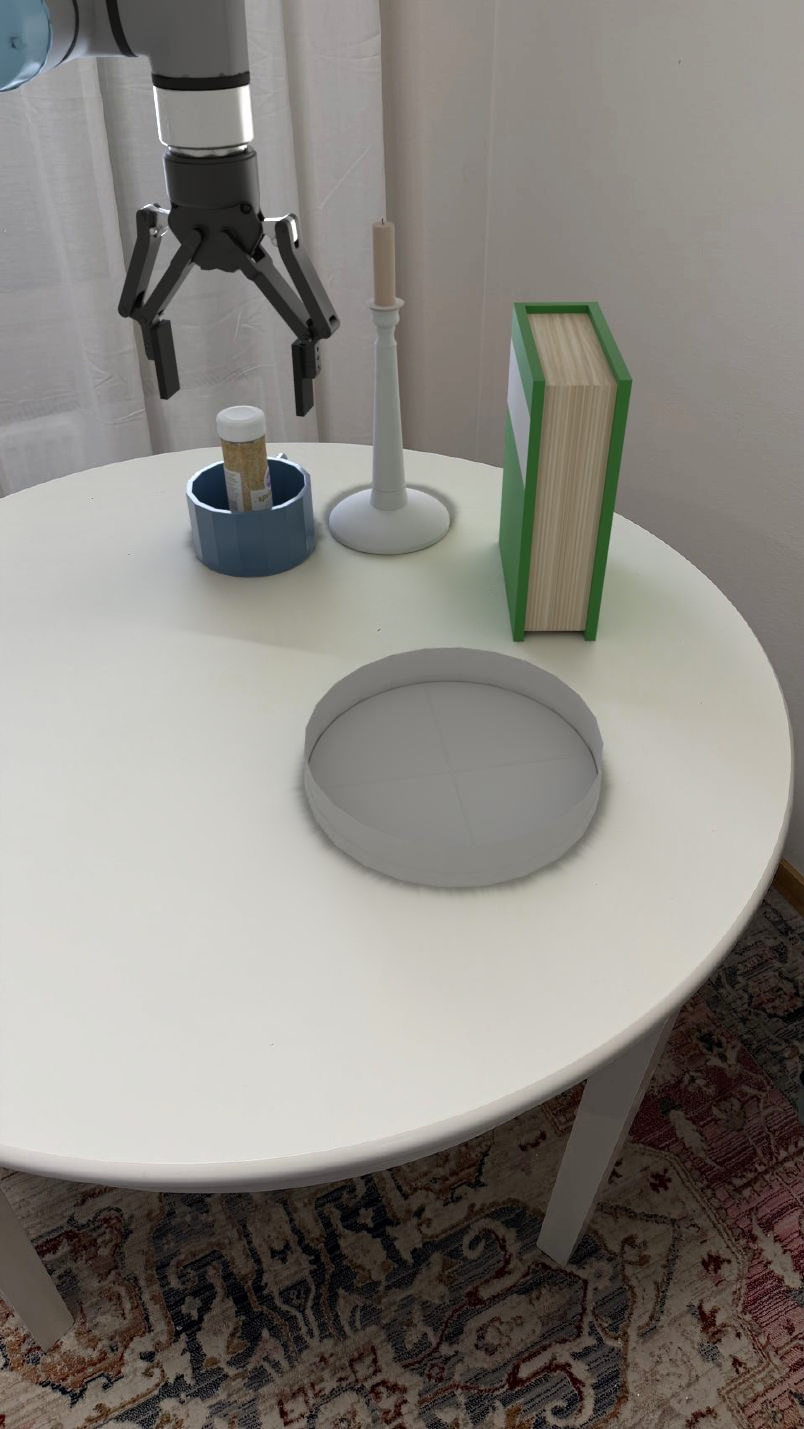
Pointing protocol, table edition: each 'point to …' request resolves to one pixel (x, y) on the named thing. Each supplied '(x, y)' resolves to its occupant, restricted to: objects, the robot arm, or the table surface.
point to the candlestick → (387, 440)
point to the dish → (453, 766)
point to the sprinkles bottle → (245, 458)
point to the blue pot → (252, 522)
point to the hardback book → (560, 464)
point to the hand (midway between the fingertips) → (236, 402)
